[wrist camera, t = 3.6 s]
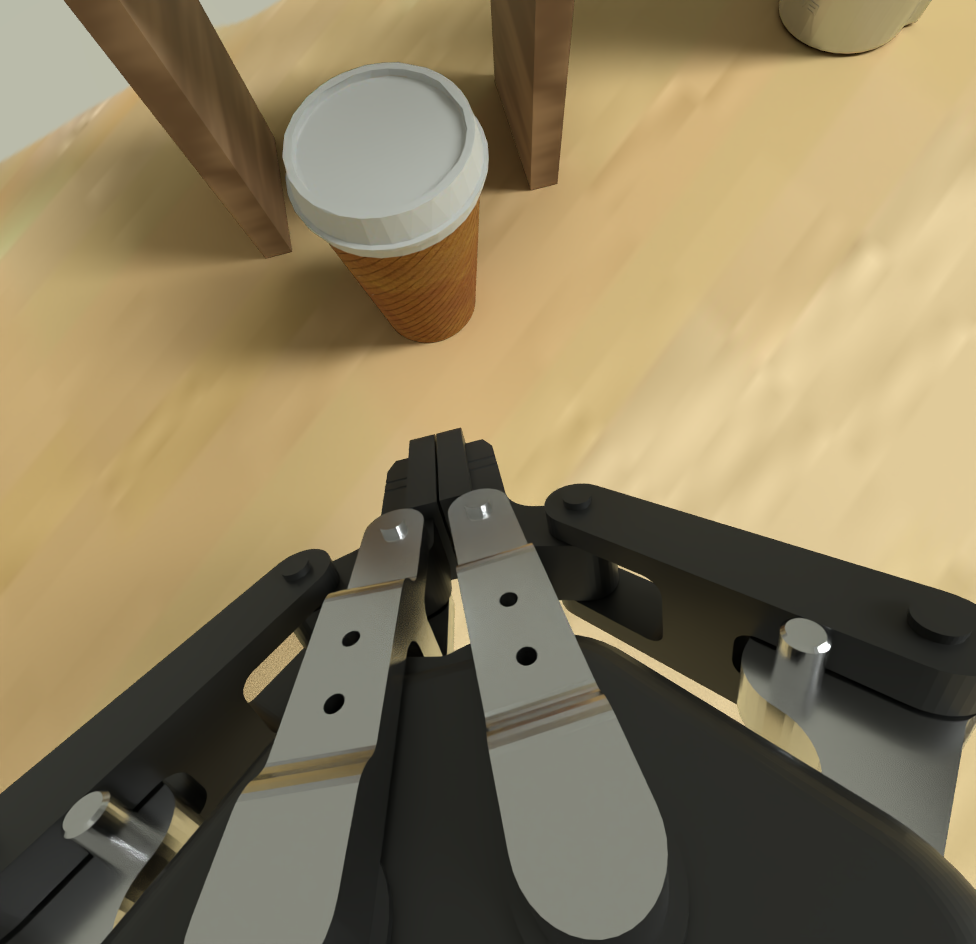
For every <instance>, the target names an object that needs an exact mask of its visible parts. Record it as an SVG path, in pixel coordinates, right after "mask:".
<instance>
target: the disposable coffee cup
mask: <svg viewBox="0 0 976 944" xmlns="http://www.w3.org/2000/svg"><path fill="white" fill-rule="evenodd" d="M282 158H283V161H284V164H285V168H286V184H287V192H288V196H289V199H290V201H291V203H292V206H293V208H294V211H295V212H296V214H297V215H298V216H299V217H300V219H301V220H302V221H303V222H304V223H305V224H306V226H307V227H308V228H309V229H310V230H311V231H312V232H313V233H315V234H316V235H318V236H319V237H321V238H323V239H324V240H325V241H327V242H328V243H329V244H330V246H331V247H332V248H333V250H334V251H335V252H336V253H337V255H338V256H339V257H340V258H341V260H342V261H343V263H344V264H345V265H346V266H347V268H348V269H349V271H350V272H351V273H352V274H353V276H354V277H355V278H356V279H357V281H358V282H359V283H360V285H361V286H362V287H363V289H364V290H365V291H366V292H367V294H368V295H369V296H370V297H371V299H372V300H373V302H374V303H375V304H376V306H377V307H378V308H379V309H380V311H381V312H382V313H383V314H384V316H385V317H386V318H387V320H388V321H389V322H390V324H391V325H392V327H393V328H394V329H395V330H396V331H397V332H398V333H399V334H401V335H402V336H404V337H406V338H408V339H410V340H414V341H417V342H425V343H428V342H437V341H441V340H445V339H447V338H449V337H451V336H453V335H455V334H456V333H457V332H459V331H460V330H461V329H462V328H463V327H464V326H465V325H466V324H467V323H468V321H469V320H470V318H471V316H472V314H473V311H474V307H475V295H476V271H477V248H478V247H477V245H478V224H479V203H480V202H479V198H480V194H481V190H482V189H483V186H484V182H485V179H486V176H487V172H488V160H489V157H488V143H487V140H486V137H485V134H484V131H483V128H482V126H481V125H480V123H479V121H478V120H477V118H476V117H475V116H474V114H473V112H472V109H471V107H470V105H469V102H468V100H467V98H466V97H465V96H464V94H463V93H462V91H461V90H460V89H459V88H458V87H457V86H456V85H455V84H454V83H453V82H452V81H450V80H449V79H447V78H446V77H444V76H443V75H441V74H439V73H437V72H435V71H433V70H430V69H428V68H425V67H420V66H415V65H410V64H404V63H399V62H394V63H377V64H370V65H365V66H362V67H359V68H356V69H353V70H350V71H347V72H344V73H342V74H340V75H338V76H336V77H333V78H331V79H330V80H328V81H327V82H325V83H324V84H322V85H321V86H319V87H318V88H317V89H316V90H315V91H314V92H312V93H311V94H310V95H309V96H308V97H306V99H305V100H304V101H303V102H302V104H301V105H300V106H299V108H298V109H297V110H296V111H295V113H294V114H293V116H292V118H291V121H290V123H289V125H288V127H287V130H286V132H285V134H284V145H283V156H282Z"/></svg>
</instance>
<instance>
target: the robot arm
mask: <svg viewBox="0 0 976 944" xmlns="http://www.w3.org/2000/svg"><path fill="white" fill-rule="evenodd" d="M931 1H932V0H780V1H779V14H780V17H781V19H782V22H783V24H784V25H785V27H786V28H787V29H788V31H789V32H790V33H791V34H792V35H794V36H795V37H796V38H797V39H798V40H800V41H802V42H803V43H805V44H807V45H809V46H811V47H814V48H817V49H819V50H823V51H828V52H833V53H847V54H849V53H859V52H865V51H869V50H872V49H876V48H878V47H880V46H882V45H884V44H886V43H887V42H889V41H890V40H891V39H893V38H894V37H895V36H896V35H897V34H898V33H899V31H900V30H901V29H902V28H903V27H904V26H905V25H908V24H911V23H915V22H917V21H918V19H919V18H920V16H921V15H922V13H923V12H924V11H925V9H926V8H927V6H928V5H929V4H930V2H931ZM618 565H619V566H622V567H624V568H626V569H629V570H631V571H633V572H636V573H638V574H640V575H643V576H645V577H646V578H648V579H649V580H651V581H652V582H650V581H648V580H646V579H643V578H641V577H639V576H637V575H634V574H632V573H630V572H627V571H625V570H623V569H620V568H618ZM457 578H458V582H459V587H460V592H461V597H462V602H463V608H464V613H465V618H466V623H467V628H468V633H469V638H470V644H468V645H466V646H464V647H462V648H460V649H458V650H456V651H454V618H455V604H454V600H453V597H452V595H451V591H452V587H451V580H453V579H457ZM559 600H562V602H563V604H564V606H565V607H566V609H567V610H568V611H570V612H571V613H573V614H574V615H576V616H578V617H580V618H581V619H583V620H585V621H587V622H589V623H590V624H592V625H594V626H596V627H598V628H600V629H601V630H603V631H605V632H607V633H609V634H610V635H612V636H614V637H616V638H618V639H619V640H621V641H623V642H625V643H627V644H628V645H630V646H632V647H634V648H636V649H638V650H639V651H641V652H643V653H645V654H647V655H648V656H650V657H652V658H654V659H656V660H657V661H659V662H661V663H663V664H665V665H666V666H668V667H670V668H672V669H674V670H676V671H677V672H679V673H681V674H683V675H685V676H686V677H688V678H690V679H692V680H694V681H695V682H697V683H699V684H701V685H703V686H704V687H706V688H708V689H710V690H712V691H714V692H715V693H717V694H719V695H721V696H723V697H724V698H726V699H728V700H730V701H732V702H733V703H735V704H737V707H738V711H739V714H740V716H741V719H742V721H743V722H744V724H745V726H746V727H745V726H744V725H742V724H741V723H739V722H737V721H736V720H734V719H732V718H731V717H729V716H727V715H726V714H724V713H723V712H721V711H719V710H718V709H716V708H714V707H713V706H711V705H709V704H708V703H706V702H705V701H703V700H701V699H700V698H698V697H696V696H695V695H693V694H692V693H690V692H688V691H687V690H685V689H683V688H682V687H680V686H678V685H677V684H675V683H674V682H672V681H670V680H669V679H667V678H665V677H664V676H662V675H660V674H659V673H657V672H656V671H654V670H652V669H651V668H649V667H647V666H646V665H644V664H642V663H641V662H639V661H638V660H636V659H634V658H633V657H631V656H629V655H628V654H626V653H624V652H623V651H621V650H619V649H617V648H616V647H613V646H611V645H609V644H607V643H605V642H602V641H599V640H596V639H593V638H589V637H584V636H579V635H574V633H573V631H572V629H571V627H570V624H569V622H568V620H567V618H566V616H565V613H564V611H563V609H562V607H561V605H560V602H559ZM293 632H294V633H295V635H296V637H297V638H298V640H299V641H300V643H301V644H302V646H303V647H304V648H303V649H302V650H301V651H300V652H299V654H298V655H297V656H296V657H295V658H294V659H293V660H292V661H291V662H290V663H289V664H288V665H287V666H286V667H285V668H284V669H283V670H282V671H281V672H280V673H279V674H278V675H277V676H276V677H275V678H274V679H273V680H272V681H271V682H270V683H269V684H268V685H267V686H266V687H265V688H264V689H263V690H262V692H261V693H260V694H259V695H258V696H257V697H256V698H255V699H253V700H252V701H251V702H249V703H248V702H247V701H246V700H245V698H244V695H243V689H244V685H245V682H246V680H247V678H248V677H249V675H250V674H251V673H252V672H253V671H254V670H255V669H256V668H257V667H258V666H259V665H260V664H261V663H262V662H263V661H264V660H265V659H266V658H267V657H268V656H269V655H270V654H271V653H272V652H273V651H274V650H275V649H276V648H277V647H278V646H279V645H280V644H281V643H282V642H283V641H284V640H285V639H286V638H287V637H288V636H289V635H291V634H292V633H293ZM975 728H976V604H974V603H972V602H970V601H969V600H966V599H964V598H962V597H959V596H957V595H954V594H951V593H948V592H945V591H942V590H939V589H936V588H932V587H929V586H926V585H922V584H919V583H916V582H913V581H909V580H906V579H903V578H899V577H896V576H893V575H889V574H886V573H883V572H880V571H876V570H873V569H870V568H866V567H863V566H860V565H856V564H853V563H850V562H847V561H843V560H840V559H837V558H833V557H830V556H827V555H824V554H820V553H817V552H814V551H810V550H807V549H804V548H800V547H797V546H794V545H791V544H787V543H784V542H781V541H777V540H774V539H771V538H767V537H764V536H761V535H758V534H754V533H751V532H748V531H744V530H741V529H738V528H734V527H731V526H728V525H725V524H721V523H718V522H715V521H711V520H708V519H705V518H702V517H698V516H695V515H692V514H688V513H685V512H682V511H678V510H675V509H672V508H669V507H665V506H662V505H659V504H655V503H652V502H649V501H645V500H642V499H639V498H636V497H632V496H629V495H626V494H622V493H619V492H616V491H613V490H609V489H606V488H603V487H599V486H596V485H592V484H573V485H568V486H564V487H562V488H559V489H558V490H556V491H554V492H553V493H551V494H550V495H549V496H548V498H547V499H546V501H545V506H524V505H520V504H517V503H515V502H513V501H511V500H510V499H509V498H508V497H507V495H506V493H505V490H504V486H503V483H502V479H501V476H500V472H499V469H498V465H497V462H496V458H495V454H494V451H493V447H492V445H490V444H489V443H487V442H486V441H484V440H483V439H482V440H478V441H474V442H470V443H465V439H464V436H463V432H462V429H461V428H457V429H453V430H449V431H445V432H441V433H438V434H436V436H435V434H434V435H430V436H426V437H422V438H418V439H414V440H410V444H409V458H406V459H402V460H399V461H396V462H395V463H394V464H393V466H392V467H391V468H390V470H389V471H388V473H387V480H386V486H385V493H384V500H383V506H382V513H381V516H380V517H378V518H377V519H375V520H374V521H373V522H372V523H371V524H370V525H369V526H368V527H367V529H366V530H365V533H364V536H363V539H362V542H361V546H360V548H359V549H357V550H356V551H354V552H352V553H350V554H347V555H345V556H343V557H341V558H339V559H337V560H335V561H332V560H331V558H330V556H329V555H328V553H327V552H326V551H323V550H320V549H310V550H305V551H302V552H299V553H296V554H294V555H292V556H290V557H288V558H286V559H285V560H283V561H282V562H281V563H279V564H278V565H277V566H276V567H274V568H273V569H272V570H271V571H269V572H268V573H267V574H266V575H265V576H263V577H262V578H261V579H260V580H259V581H257V582H256V583H255V584H254V585H253V586H251V587H250V588H249V589H248V590H247V591H245V592H244V593H243V594H242V595H240V596H239V597H238V598H237V599H236V600H234V601H233V602H232V603H231V604H230V605H228V606H227V607H226V608H225V609H224V610H222V611H221V612H220V613H219V614H217V615H216V616H215V617H214V618H213V619H211V620H210V621H209V622H208V623H207V624H205V625H204V626H203V627H202V628H201V629H199V630H198V631H197V632H196V633H194V634H193V635H192V636H191V637H190V638H188V639H187V640H186V641H185V642H184V643H182V644H181V645H180V646H179V647H178V648H176V649H175V650H174V651H173V652H171V653H170V654H169V655H168V656H167V657H165V658H164V659H163V660H162V661H161V662H159V663H158V664H157V665H156V666H155V667H153V668H152V669H151V670H150V671H149V672H147V673H146V674H145V675H144V676H142V677H141V678H140V679H139V680H138V681H136V682H135V683H134V684H133V685H132V686H130V687H129V688H128V689H127V690H126V691H124V692H123V693H122V694H121V695H119V696H118V697H117V698H116V699H115V700H113V701H112V702H111V703H110V704H109V705H107V706H106V707H105V708H104V709H103V710H101V711H100V712H99V713H98V714H96V715H95V716H94V717H93V718H92V719H90V720H89V721H88V722H87V723H86V724H84V725H83V726H82V727H81V728H80V729H78V730H77V731H76V732H75V733H74V734H72V735H71V736H70V737H69V738H67V739H66V740H65V741H64V742H63V743H61V744H60V745H59V746H58V747H57V748H55V749H54V750H53V751H52V752H51V753H49V754H48V755H47V756H46V757H44V758H43V759H42V760H41V761H40V762H38V763H37V764H36V765H35V766H34V767H32V768H31V769H30V770H29V771H28V772H26V773H25V774H24V775H23V776H21V777H20V778H19V779H18V780H17V781H15V782H14V783H13V784H12V785H11V786H9V787H8V788H7V789H6V790H5V791H3V792H2V793H1V794H0V944H976V890H975V889H974V888H973V886H972V885H971V884H970V883H969V882H968V881H967V880H966V879H965V878H964V876H963V875H962V874H961V873H960V872H959V871H958V870H957V869H956V868H955V867H954V866H953V865H952V864H951V863H949V862H948V861H947V860H946V859H945V858H944V851H945V845H946V840H947V834H948V828H949V822H950V816H951V811H952V805H953V799H954V793H955V787H956V781H957V776H958V770H959V764H960V758H961V752H962V749H963V747H964V746H965V744H966V743H967V741H968V739H969V738H970V736H971V734H972V733H973V731H974V729H975Z"/></svg>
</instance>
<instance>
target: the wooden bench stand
mask: <svg viewBox="0 0 976 944" xmlns="http://www.w3.org/2000/svg"><path fill="white" fill-rule="evenodd" d="M64 1H65V2H66V4H67V5H68V6H69V8H70V9H71V10H72V11H73V13H74V14H75V15H76V17H77V18H78V19H79V20H80V21H81V23H82V24H83V25H84V27H85V28H86V29H87V31H88V32H89V33H90V34H91V36H92V37H93V38H94V40H95V41H96V42H97V43H98V45H99V46H100V47H101V48H102V50H103V51H104V52H105V54H106V55H107V56H108V57H109V59H110V60H111V61H112V62H113V64H114V65H115V66H116V68H117V69H118V70H119V71H120V73H121V74H122V75H123V76H124V78H125V79H126V80H127V82H128V83H129V84H130V86H131V87H132V88H133V89H134V91H135V92H136V93H137V94H138V96H139V97H140V98H141V100H142V101H143V102H144V103H145V105H146V106H147V107H148V109H149V110H150V111H151V112H152V114H153V115H154V116H155V117H156V119H157V120H158V121H159V123H160V124H161V125H162V126H163V128H164V129H165V130H166V132H167V133H168V134H169V135H170V137H171V138H172V139H173V140H174V142H175V143H176V144H177V146H178V147H179V148H180V149H181V151H182V152H183V153H184V155H185V156H186V157H187V158H188V160H189V161H190V162H191V163H192V165H193V166H194V167H195V169H196V170H197V171H198V172H199V174H200V175H201V176H202V178H203V179H204V180H205V181H206V183H207V184H208V185H209V187H210V188H211V189H212V190H213V192H214V193H215V194H216V195H217V197H218V198H219V199H220V201H221V202H222V203H223V204H224V206H225V207H226V208H227V210H228V211H229V212H230V213H231V215H232V216H233V217H234V218H235V220H236V221H237V222H238V224H239V225H240V226H241V227H242V229H243V230H244V231H245V233H246V234H247V235H248V236H249V238H250V239H251V240H252V241H253V243H254V244H255V245H256V247H257V248H258V249H259V250H260V252H261V253H262V254H263V256H264V257H265V258H268V257H272V256H276V255H280V254H284V253H288V252H292V248H291V242H290V235H289V229H288V223H287V216H286V210H285V203H284V197H283V190H282V184H281V177H280V171H279V164H278V158H277V151H276V145H275V139H274V136H273V134H272V132H271V131H270V129H269V127H268V125H267V123H266V122H265V120H264V118H263V116H262V114H261V113H260V111H259V109H258V107H257V105H256V103H255V102H254V100H253V98H252V96H251V94H250V93H249V91H248V89H247V87H246V85H245V83H244V82H243V80H242V78H241V76H240V74H239V73H238V71H237V69H236V67H235V65H234V64H233V62H232V60H231V58H230V56H229V54H228V53H227V51H226V49H225V47H224V45H223V44H222V42H221V40H220V38H219V36H218V34H217V33H216V31H215V29H214V27H213V25H212V24H211V22H210V20H209V18H208V16H207V15H206V13H205V11H204V9H203V7H202V5H201V4H200V2H199V0H64ZM573 10H574V0H491V16H492V36H493V56H494V76H495V83H496V86H497V89H498V92H499V95H500V98H501V101H502V104H503V107H504V110H505V113H506V116H507V120H508V123H509V126H510V129H511V132H512V135H513V138H514V141H515V144H516V147H517V150H518V153H519V156H520V159H521V162H522V165H523V168H524V171H525V174H526V178H527V181H528V184H529V187H530V190H533V189H537V188H541V187H545V186H549V185H553V184H557V181H558V171H559V160H560V149H561V138H562V128H563V117H564V106H565V96H566V85H567V74H568V63H569V53H570V42H571V31H572V21H573Z"/></svg>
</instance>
